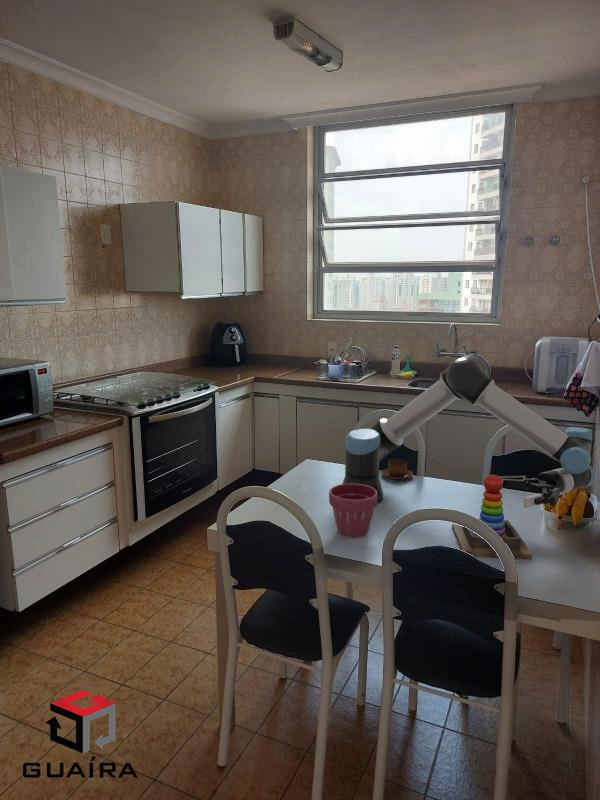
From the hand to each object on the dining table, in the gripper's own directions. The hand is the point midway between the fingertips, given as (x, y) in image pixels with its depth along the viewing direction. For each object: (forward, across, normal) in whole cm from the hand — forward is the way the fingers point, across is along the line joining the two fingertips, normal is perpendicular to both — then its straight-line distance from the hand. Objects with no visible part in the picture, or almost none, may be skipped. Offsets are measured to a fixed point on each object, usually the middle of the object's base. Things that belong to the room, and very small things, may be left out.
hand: (504, 495), depth 157 cm
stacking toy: (+4, 0, -12) cm, 13 cm away
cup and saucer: (-10, +59, -14) cm, 62 cm away
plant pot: (+34, +26, -14) cm, 45 cm away
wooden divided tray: (+4, 0, -14) cm, 14 cm away
